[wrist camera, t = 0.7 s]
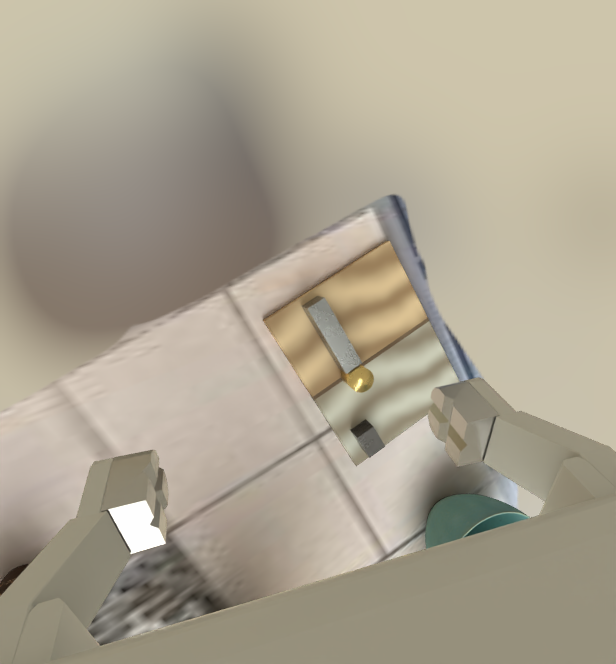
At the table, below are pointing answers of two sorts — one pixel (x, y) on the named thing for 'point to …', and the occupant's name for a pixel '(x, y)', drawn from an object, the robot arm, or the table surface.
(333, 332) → the latch bar
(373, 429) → the block
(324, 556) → the table surface
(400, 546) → the table surface
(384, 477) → the table surface
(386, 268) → the door board
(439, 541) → the plant pot
